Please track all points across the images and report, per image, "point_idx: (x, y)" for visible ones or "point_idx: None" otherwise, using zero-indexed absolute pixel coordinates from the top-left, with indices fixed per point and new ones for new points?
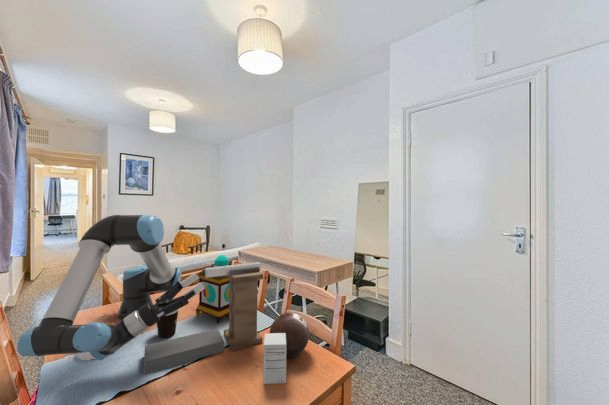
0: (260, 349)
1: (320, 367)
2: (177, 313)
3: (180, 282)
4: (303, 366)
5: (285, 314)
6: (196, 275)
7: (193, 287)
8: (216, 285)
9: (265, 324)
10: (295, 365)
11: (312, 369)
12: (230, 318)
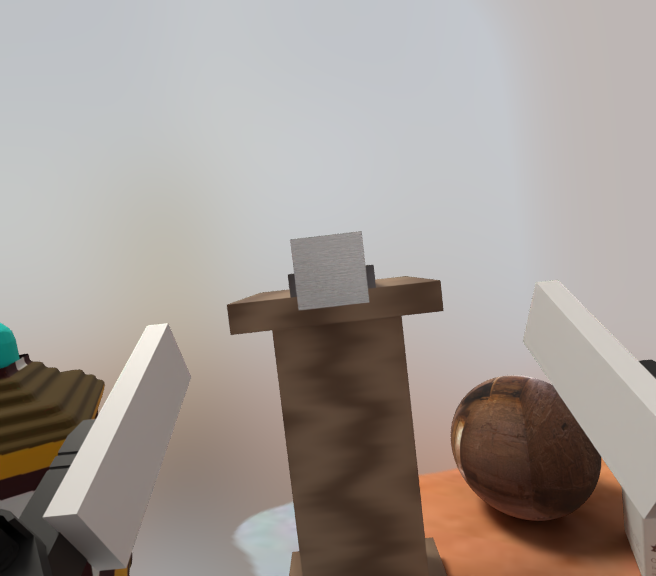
0: (485, 571)
1: (602, 469)
2: None
3: (48, 508)
4: (602, 494)
5: (511, 384)
6: (174, 350)
7: (603, 335)
8: (33, 490)
9: None
10: (598, 507)
11: (615, 483)
12: (330, 565)
